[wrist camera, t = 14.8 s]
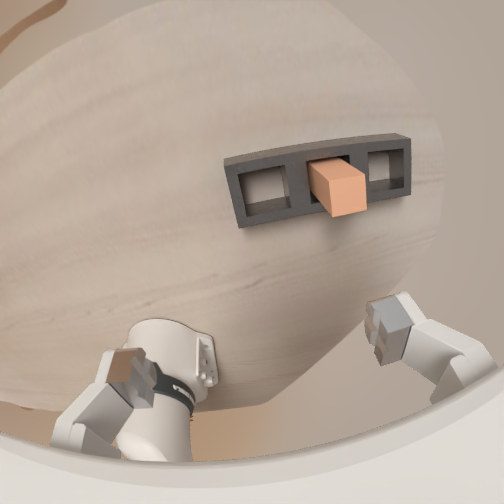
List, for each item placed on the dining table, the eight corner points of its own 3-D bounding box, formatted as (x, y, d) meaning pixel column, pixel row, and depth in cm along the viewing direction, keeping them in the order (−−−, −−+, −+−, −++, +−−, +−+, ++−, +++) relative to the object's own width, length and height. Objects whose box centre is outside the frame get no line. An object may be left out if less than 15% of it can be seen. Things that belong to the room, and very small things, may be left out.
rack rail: (396, 185, 38) (410, 194, 35) (237, 215, 39) (238, 228, 35) (395, 133, 34) (410, 138, 31) (223, 158, 35) (223, 166, 31)
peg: (335, 181, 37) (366, 209, 29) (307, 186, 37) (332, 217, 29) (331, 153, 35) (364, 174, 27) (303, 158, 35) (328, 181, 27)
